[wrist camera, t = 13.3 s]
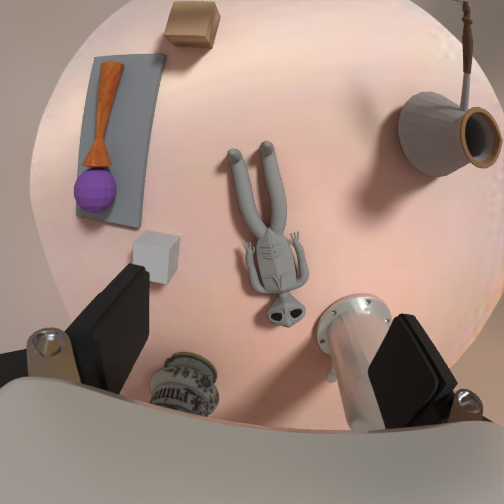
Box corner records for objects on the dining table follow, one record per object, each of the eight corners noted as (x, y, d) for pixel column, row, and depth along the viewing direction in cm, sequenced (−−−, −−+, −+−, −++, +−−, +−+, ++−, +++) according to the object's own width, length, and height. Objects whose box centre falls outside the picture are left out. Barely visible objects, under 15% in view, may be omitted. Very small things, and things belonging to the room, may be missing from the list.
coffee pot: (456, 174, 33) (525, 197, 20) (392, 174, 35) (455, 198, 21) (439, 37, 26) (501, 12, 12) (372, 26, 27) (420, -19, 13)
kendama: (128, 57, 26) (107, 218, 32) (138, 70, 31) (120, 209, 37) (84, 60, 25) (66, 215, 31) (100, 71, 30) (83, 207, 36)
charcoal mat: (141, 225, 39) (138, 227, 38) (79, 214, 39) (76, 215, 38) (166, 55, 30) (163, 53, 29) (98, 58, 30) (94, 57, 29)
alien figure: (282, 136, 30) (318, 327, 38) (281, 138, 35) (314, 309, 43) (213, 153, 31) (261, 338, 39) (220, 152, 36) (262, 319, 44)
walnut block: (212, 48, 30) (204, 35, 25) (176, 46, 30) (163, 34, 25) (220, 17, 28) (214, 1, 23) (184, 15, 28) (173, 1, 23)
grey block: (177, 268, 41) (167, 284, 37) (145, 261, 41) (132, 276, 36) (180, 236, 39) (169, 249, 35) (147, 230, 39) (133, 242, 35)
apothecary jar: (181, 335, 46) (148, 421, 29) (236, 373, 48) (225, 459, 32) (148, 367, 49) (115, 442, 33) (198, 399, 52) (180, 475, 35)
